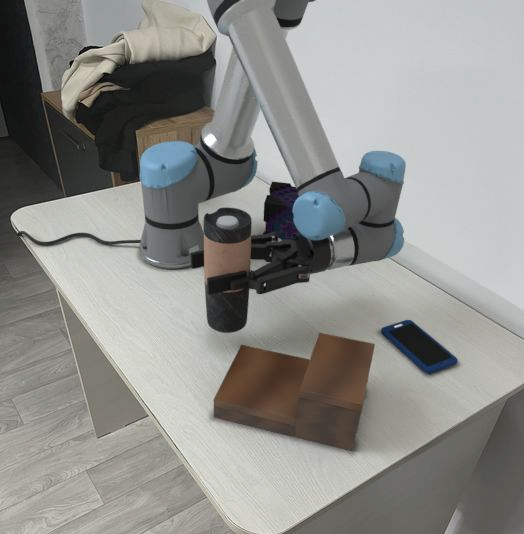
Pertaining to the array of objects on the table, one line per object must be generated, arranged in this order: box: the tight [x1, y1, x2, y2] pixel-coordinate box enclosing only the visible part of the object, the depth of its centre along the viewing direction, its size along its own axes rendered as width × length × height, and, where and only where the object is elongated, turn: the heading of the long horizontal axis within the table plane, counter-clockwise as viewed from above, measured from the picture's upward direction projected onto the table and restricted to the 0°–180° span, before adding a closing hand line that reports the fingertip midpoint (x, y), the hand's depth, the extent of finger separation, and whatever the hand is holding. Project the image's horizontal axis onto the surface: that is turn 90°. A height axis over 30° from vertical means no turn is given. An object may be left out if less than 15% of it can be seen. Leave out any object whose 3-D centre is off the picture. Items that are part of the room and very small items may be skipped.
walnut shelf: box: [213, 332, 376, 452], centre depth 85 cm, size 22×14×10 cm, turn 74°
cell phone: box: [380, 319, 458, 374], centre depth 100 cm, size 7×14×1 cm, turn 28°
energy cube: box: [262, 181, 300, 253], centre depth 126 cm, size 12×12×12 cm
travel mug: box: [203, 207, 253, 334], centre depth 90 cm, size 8×8×20 cm
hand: (199, 273), depth 88 cm, fingers closed on travel mug, 7 cm apart
